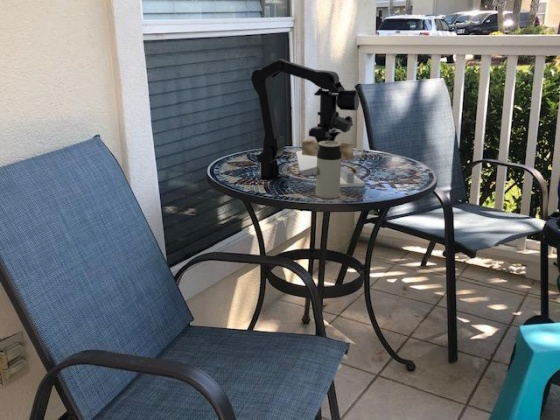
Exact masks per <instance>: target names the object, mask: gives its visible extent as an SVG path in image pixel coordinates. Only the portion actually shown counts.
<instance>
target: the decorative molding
mask: <svg viewBox="0 0 560 420" xmlns="http://www.w3.org/2000/svg"><path fill="white" fill-rule="evenodd" d="M296 159H297V163H298V169H299V172H300V174H301V176H316V172H317V157H316V156H308V155H302V149H301V150H298V151H296Z"/></svg>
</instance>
